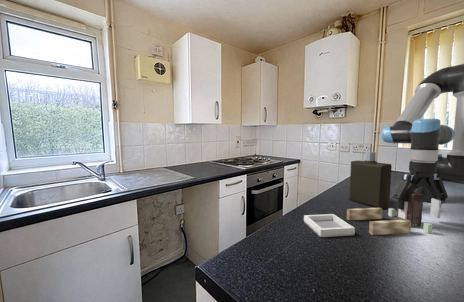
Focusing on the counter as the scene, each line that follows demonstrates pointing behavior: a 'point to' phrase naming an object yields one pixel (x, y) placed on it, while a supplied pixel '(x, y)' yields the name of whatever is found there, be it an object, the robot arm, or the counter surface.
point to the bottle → (370, 182)
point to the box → (414, 209)
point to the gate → (427, 226)
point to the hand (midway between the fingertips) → (418, 217)
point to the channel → (379, 226)
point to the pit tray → (329, 225)
